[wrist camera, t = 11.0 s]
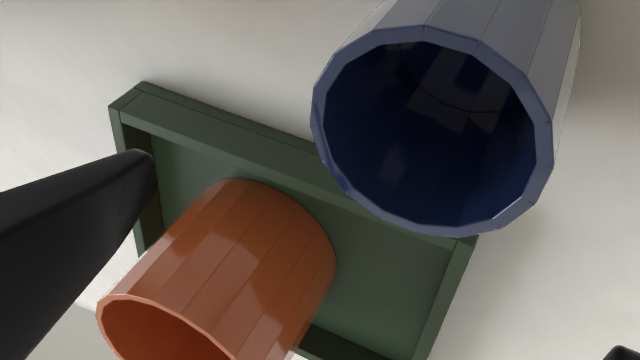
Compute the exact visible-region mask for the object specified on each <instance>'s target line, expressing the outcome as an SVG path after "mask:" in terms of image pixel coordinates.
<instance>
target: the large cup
mask: <svg viewBox="0 0 640 360" xmlns="http://www.w3.org/2000/svg"><path fill="white" fill-rule="evenodd" d="M336 270H337V262H336V256H335V252H334V249H333V246H332V244H331V241H330V239H329V238H328V236H327V234H326V232H325V231H324V230H323V228H322V227H321V225H320V224H319V223H318V222H317V220H316V219H315V218H314V217H313V216H312V215H311V214H310V213H309V212H308V211H307V210H306V209H305V208H304V207H302V206H301V205H300V204H299V203H298V202H296V201H295V200H293V199H292V198H291V197H289V196H288V195H286V194H284V193H283V192H281V191H279V190H277V189H275V188H273V187H271V186H268V185H266V184H263V183H260V182H257V181H253V180H249V179H241V178H228V179H222V180H219V181H216V182H214V183H212V184H210V185H209V186H208V187H206V188H205V189H204V190H203V191H202V192H201V194H199V195H198V196H197V197H196V198H195V199H194V200H193V201H192V202H191V203H190V204H189V205H188V206H187V207H186V208H185V210H184V211H183V212H182V213H181V214H180V215H179V216H178V217H177V218H176V219H175V220H174V221H173V222H172V223H171V224H170V225H169V227H168V228H167V229H166V230H165V231H164V232H163V233H162V234H161V235H160V236H159V237H158V238H157V239H156V240H155V241H154V242H153V244H152V245H151V246H150V247H149V248H148V249H147V250H146V251H145V252H144V253H143V254H142V255H141V256H140V257H139V258H138V260H137V261H136V262H135V263H134V264H133V265H132V266H131V267H130V268H129V269H128V270H127V271H126V272H125V273H124V274H123V275H122V277H121V278H120V279H119V280H118V281H117V282H116V283H115V284H114V285H113V286H112V287H111V288H110V289H109V290H108V291H107V292H106V294H105V295H104V296H103V297H102V298H101V299H100V300H99V301H98V302H97V308H96V313H95V317H96V320H97V323H98V326H99V329H100V332H101V334H102V335H103V337H104V338H105V340H106V341H107V343H108V344H109V346H110V348H111V349H112V350H113V352H114V353H115V354H116V355H117V356H118V357H119V358H120V359H121V360H291V358H292V356H293V355H294V353H295V351H296V349H297V348H298V346H299V344H300V342H301V340H302V339H303V337H304V335H305V333H306V331H307V330H308V328H309V326H310V324H311V323H312V321H313V319H314V317H315V315H316V314H317V312H318V310H319V308H320V306H321V305H322V303H323V301H324V299H325V298H326V296H327V294H328V292H329V290H330V288H331V285H332V283H333V281H334V279H335V276H336Z"/></svg>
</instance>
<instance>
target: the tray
mask: <svg viewBox="0 0 640 360" xmlns="http://www.w3.org/2000/svg"><path fill="white" fill-rule="evenodd" d="M108 111H109V116H110V121H111V126H112V131H113V136H114V141H115V146H116V150H117V154H118V153H121V152H124V151H127V150H130V149H139V150H141V151H144V152H146V153H149V154H151V155H152V156H153V157H154V160H155V166H156V173H157V180H158V188H157V191H156V194H155V195H154V197H153V199H152V200H151V201H150V203H149V204H148V206H147V207H146V209H145V210H144V212H143V213H142V215H141V216H140V218H139V219H138V221H137V222H136V224H135V225H134V227H133V233H134V238H135V243H136V248H137V253H138V258H139V257H140V256H141V255H142V254H143V253H144V252H145V251H146V250H147V249H148V248H149V247H150V246H151V245H152V244H153V242H154V241H155V240H156V239H157V238H158V237H159V236H160V235H161V234H162V233H163V232H164V231H165V230H166V229H167V228H168V227H169V225H170V224H171V223H172V222H173V221H174V220H175V219H176V218H177V217H178V216H179V215H180V214H181V213H182V212H183V211H184V210H185V208H186V207H187V206H188V205H189V204H190V203H191V202H192V201H193V200H194V199H195V198H196V197H197V196H198V195H199V194H201V192H202V191H203V190H204V189H205V188H206V187H208V186H209V185H210V184H212V183H214V182H216V181H219V180H222V179H228V178H241V179H249V180H253V181H257V182H260V183H263V184H266V185H268V186H271V187H273V188H275V189H277V190H279V191H281V192H283V193H284V194H286V195H288V196H289V197H291V198H292V199H293V200H295V201H296V202H298V203H299V204H300V205H301V206H302V207H304V208H305V209H306V210H307V211H308V212H309V213H310V214H311V215H312V216H313V217H314V218H315V219H316V220H317V222H318V223H319V224H320V225H321V227H322V228H323V230H324V231H325V232H326V234H327V236H328V238H329V239H330V241H331V244H332V246H333V249H334V252H335V256H336V262H337V270H336V276H335V279H334V281H333V283H332V285H331V288H330V290H329V292H328V294H327V296H326V298H325V299H324V301H323V303H322V305H321V306H320V308H319V310H318V312H317V314H316V315H315V317H314V319H313V321H312V323H311V324H310V326H309V328H308V330H307V331H306V333H305V335H304V337H303V339H302V340H301V342H300V344H299V346H298V348H297V349H296V351H295V353H296V354H298V355H300V356H302V357H304V358H307V359H309V360H427V358H428V356H429V353H430V351H431V349H432V346H433V344H434V342H435V339H436V337H437V335H438V332H439V330H440V328H441V325H442V323H443V321H444V318H445V316H446V314H447V311H448V309H449V307H450V304H451V302H452V300H453V297H454V295H455V292H456V290H457V288H458V285H459V283H460V281H461V278H462V276H463V274H464V271H465V269H466V267H467V264H468V262H469V260H470V257H471V255H472V253H473V250H474V248H475V245H476V242H477V239H478V236H479V234H476V235H472V236H468V237H463V238H462V237H461V238H456V237H444V236H433V235H422V234H417V233H414V232H412V231H409V230H407V229H404V228H402V227H399V226H396V225H394V224H391V223H389V222H386V221H384V220H381V219H380V218H377V217H376V216H375V215H373V214H372V213H371V212H369V211H368V210H367V209H365V208H364V207H363V206H361V205H360V204H359V203H357V202H356V201H355V200H353V199H352V198H351V197H349V196H348V195H347V194H346V193H345V192H344V191H343V190H342V188H341V187H340V186H339V184H338V183H337V182H336V180H335V179H334V178H333V176H332V175H331V173H330V172H329V171H328V169H327V168H326V167H325V165H324V164H323V163H322V161H321V158H320V155H319V152H318V149H317V146H316V144H313V143H311V142H308V141H305V140H302V139H300V138H297V137H294V136H291V135H289V134H286V133H283V132H280V131H278V130H275V129H272V128H269V127H267V126H264V125H261V124H258V123H256V122H253V121H250V120H247V119H245V118H242V117H239V116H236V115H234V114H231V113H228V112H225V111H223V110H220V109H217V108H214V107H211V106H209V105H206V104H203V103H200V102H198V101H195V100H192V99H189V98H187V97H184V96H181V95H178V94H176V93H173V92H170V91H167V90H165V89H162V88H159V87H156V86H154V85H151V84H148V83H145V82H143V81H141V82H140V83H138V84H137V85H136V86H134V87H133V88H132V89H131V90H129V91H128V92H126V93H125V94H124V95H122V96H121V97H120V98H118V99H117V100H115V101H114V102H113V103H111V104H110V105H109V106H108Z"/></svg>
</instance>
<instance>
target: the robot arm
mask: <svg viewBox="0 0 640 360" xmlns="http://www.w3.org/2000/svg"><path fill="white" fill-rule="evenodd" d="M157 188H158V180H157V173H156V166H155V160H154V157H153V156H152V155H151V154H149V153H146V152H144V151H141V150H139V149H130V150H127V151H124V152H121V153H118V154H115V155H112V156H109V157H106V158H103V159H100V160H97V161H94V162H91V163H88V164H85V165H82V166H79V167H76V168H73V169H70V170H67V171H64V172H61V173H58V174H55V175H52V176H49V177H46V178H43V179H40V180H37V181H34V182H31V183H28V184H25V185H22V186H19V187H16V188H13V189H10V190H7V191H4V192H1V193H0V360H25V359H26V358H27V357H28V355H29V354H30V353H31V352H32V351H33V350H34V348H35V347H36V346H37V345H38V344H39V342H40V341H41V340H42V339H43V338H44V336H45V335H46V334H47V333H48V332H49V331H50V330H51V328H52V327H53V326H54V325H55V323H56V322H57V321H58V320H59V319H60V318H61V316H62V315H63V314H64V313H65V312H66V311H67V309H68V308H69V307H70V306H71V305H72V304H73V302H74V301H75V300H76V299H77V298H78V296H79V295H80V294H81V293H82V292H83V291H84V289H85V288H86V287H87V286H88V285H89V284H90V282H91V281H92V280H93V279H94V278H95V276H96V275H97V274H98V273H99V272H100V271H101V269H102V268H103V267H104V266H105V265H106V263H107V262H108V261H109V260H110V259H111V257H112V256H113V255H114V254H115V252H116V251H117V250H118V248H119V247H120V246H121V244H122V243H123V241H124V240H125V238H126V237H127V235H128V234H129V232H130V231H131V230H132V228H133V227H134V225H135V224H136V222H137V221H138V219H139V218H140V216H141V215H142V213H143V212H144V210H145V209H146V207H147V206H148V204H149V203H150V201H151V200H152V199H153V197H154V195H155V194H156V191H157ZM603 360H640V353H638V352H636V351H633V350H631V349H628V348H626V347H623V346H620V345H618V346H615V347H614V348H612V349H611V351H610V352H609V353H608V354H607V355H606V357H605V358H604V359H603Z"/></svg>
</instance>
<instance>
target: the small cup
mask: <svg viewBox="0 0 640 360" xmlns="http://www.w3.org/2000/svg"><path fill="white" fill-rule="evenodd" d="M580 37H581V18H580V11H579V7H578V3H577V0H383V1H382V2H381V3H380V4H379V5H378V6H377V8H376V9H375V10H374V11H373V12H372V13H371V14H370V15H369V16H368V17H367V18H366V19H365V20H364V21H363V23H362V24H361V25H360V26H359V27H358V28H357V29H356V30H355V31H354V32H353V33H352V34H351V35H350V36H349V38H348V39H347V40H346V41H345V42H344V43H343V44H342V45H341V46H340V47H339V48H338V49H337V50H336V52H335V53H334V54H333V55H332V57H331V59H330V60H329V62H328V63H327V65H326V67H325V68H324V70H323V71H322V73H321V74H320V76H319V78H318V79H317V81H316V82H315V84H314V87H313V96H312V106H311V116H310V127H311V130H312V133H313V136H314V139H315V143H316V146H317V149H318V152H319V155H320V158H321V161H322V163H323V164H324V165H325V167H326V168H327V169H328V171H329V172H330V173H331V175H332V176H333V178H334V179H335V180H336V182H337V183H338V184H339V186H340V187H341V188H342V190H343V191H344V192H345V193H346V194H347V195H348V196H349V197H351V198H352V199H353V200H355V201H356V202H357V203H359V204H360V205H361V206H363V207H364V208H365V209H367V210H368V211H369V212H371V213H372V214H373V215H375V216H376V217H377V218H380V219H381V220H384V221H386V222H389V223H391V224H394V225H396V226H399V227H402V228H404V229H407V230H409V231H412V232H414V233H417V234H422V235H433V236H444V237H456V238H461V237H462V238H463V237H468V236H472V235H476V234H480V233H484V232H489V231H493V230H497V229H501V228H503V227H505V226H506V225H507V224H509V223H510V222H512V221H513V220H514V219H516V218H517V217H518V216H520V215H521V214H523V213H524V212H525V211H527V210H528V209H529V208H531V207H532V206H534V205H535V203H536V202H537V201H538V199H539V197H540V195H541V193H542V191H543V189H544V187H545V185H546V183H547V181H548V179H549V177H550V175H551V173H552V171H553V169H554V165H555V161H556V156H557V152H558V147H559V143H560V138H561V134H562V129H563V124H564V120H565V115H566V111H567V106H568V102H569V97H570V93H571V88H572V83H573V79H574V74H575V70H576V65H577V61H578V56H579V51H580Z"/></svg>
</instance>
